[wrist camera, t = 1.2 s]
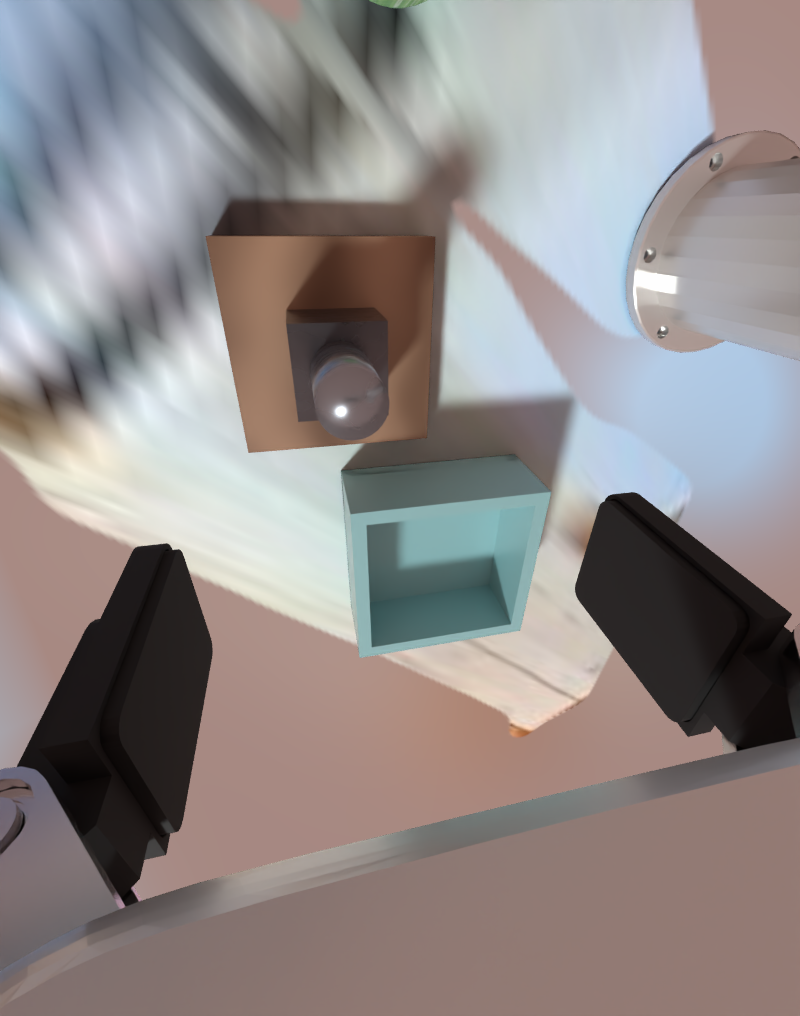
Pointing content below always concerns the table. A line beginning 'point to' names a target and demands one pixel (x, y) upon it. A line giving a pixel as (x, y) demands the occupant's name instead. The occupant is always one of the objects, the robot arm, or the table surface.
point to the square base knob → (340, 368)
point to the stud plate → (322, 285)
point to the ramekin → (398, 3)
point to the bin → (440, 550)
